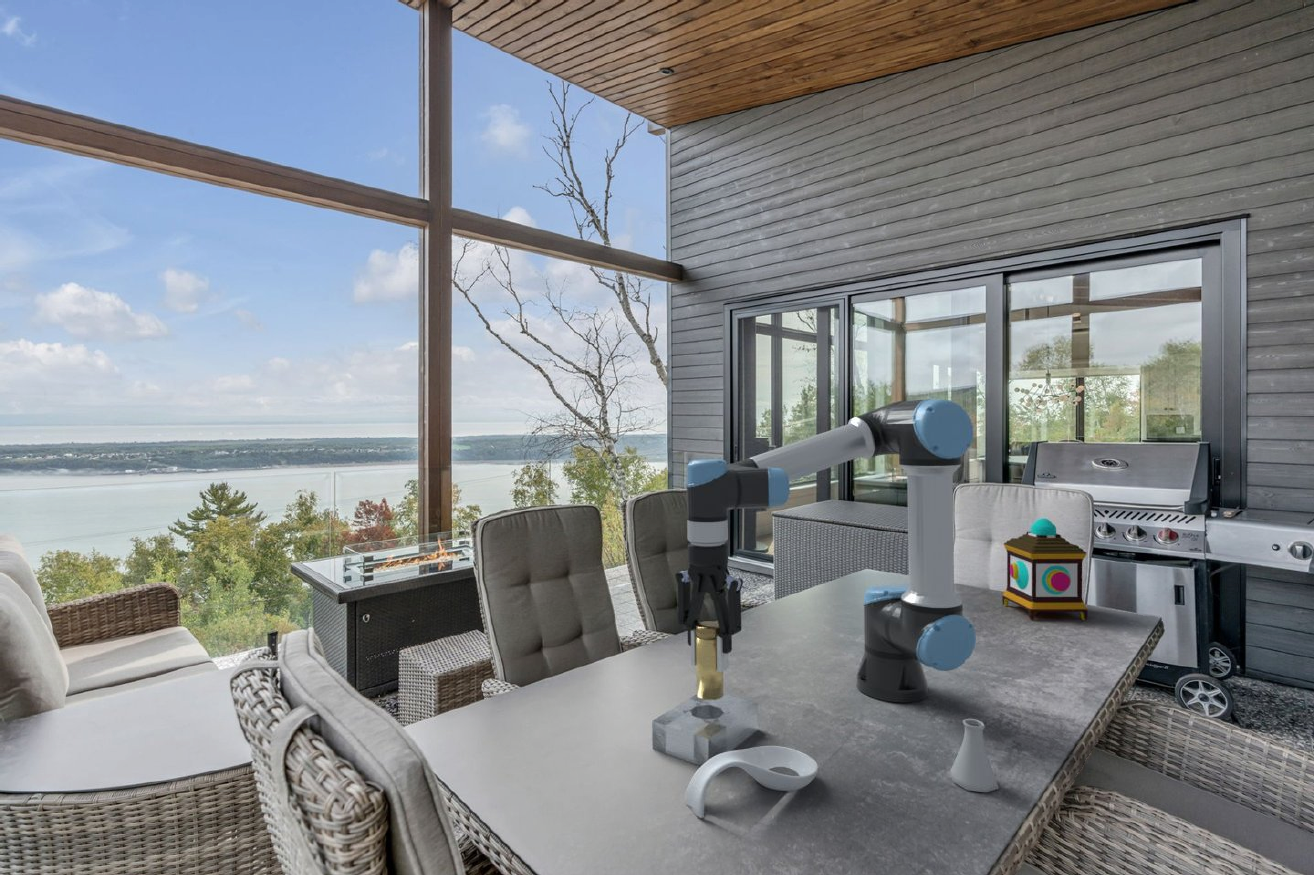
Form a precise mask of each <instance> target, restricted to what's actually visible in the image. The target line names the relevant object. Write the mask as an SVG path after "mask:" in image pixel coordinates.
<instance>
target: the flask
mask: <svg viewBox="0 0 1314 875" xmlns="http://www.w3.org/2000/svg"><path fill="white" fill-rule="evenodd" d="M962 723H963V725H964V735H963V738H962V739H963V740H962V743H961V745H960V748H959V750H958V753H957V756H956V758H955V760H954V762H953V765H952V767H951V769H950V770H949V775H950V779H951V780H952V782H953V783H955V784H956V785H957V786H960V787H961V788H962V789H964V790H965V791H970V792H978V793H979V792H980V793H989V792H992V791H996V790H999V789H1000V788H999V785H998V782H997V779H996V777H995V773H994V771H993V768H992V765H991V763H990V760H989V756H988V754H987V751H986V746H985V742H984V741H985V740H984V732H983V731H984V730H985V728H986V726H985V724H984V722H983V721H981V720H978V719H977V718H976V719H974V718H965V719H962Z"/></svg>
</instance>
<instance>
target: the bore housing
mask: <svg viewBox="0 0 1314 875" xmlns="http://www.w3.org/2000/svg"><path fill="white" fill-rule="evenodd" d="M757 731H759V703H758V702H754V701H750V700H746V699H744V698H741V697H735V696H732V695H730V694H725V693H724V696H723V697H722V698H720V699H716V700H705V699H701V698H699V697H698V696H697V693H696V694H695V695H693V696H691V697H690V698H688V699H686V700H685V701H683V702H682V703H680V704H678V705H677V706H675V707H673V708H671V709H670V710H668V711H666V712H665V713H663V714H662V715H660V716H658V717H657V718H655V719H653V720H652V729H651V732H652V735H651V736H652V740H651V742H652V749H653V750H656V751H658V752H661V753H664V754H667V755H669V756H673V757H675V758H678V759H680V760H683V761H686V762H688V763H691V764H694V765H697V766H699V767H701V766H702V765H703V764H704V763H705V762H707V761H708V760H709V759H711V758H712V757H714V756H716V755H718V754H721V753H724V752H728V751H734V750H735V748H737V747H739V745H741V744H742V743H743V742H745V741H746V740H747V739H748V738H750V737H751V736H752V735H753V734H754V733H756V732H757Z"/></svg>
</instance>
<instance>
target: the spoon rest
mask: <svg viewBox="0 0 1314 875" xmlns="http://www.w3.org/2000/svg"><path fill="white" fill-rule="evenodd" d="M731 767H732V768H733V767H738V768H740V769H742V770H743V771H744V772H745V773H748V775H750V776H751V777H752V778H753V779H754V780H755V781H756V782H757V783H759V784H760V785H761V786H763V787H765V788H768V789H770V790H775V791H782V792H783V791H785V792H786V794H787V793H792V792H794V791H797V790H801V789H803V788H805V787H806V786H808V785H809V784H810V783H811V782H812V781H813V780H814V779H815V777H816V775H817V774H818V771H819V765H818V763H817V762H816V760H814V758H813V757H812V756H810V755H808V754H806V753H804V752H802V751H800V750H797V749H794V748H790V747H785V746H780V745H763V746H762V745H761V746H755V747H749V748H744V749H743V748H742V749H737V750H736V749H734V750H732V751H728V752H724V753H721V754H718V755H716V756H714V757H712V758H711V759H709V760H708V761H707V762H705V763H704V764H703V765H702V766H699V768H698V769H697V771H696V772H695V773H694V775H693V776H692V778H691V779H690V781H689V783H688V786H687V789H686V791H685V795H684V796H685V797H684V799H685V801H686V802H687V803H685V805H686V807H688V809H689V810H690V811H692V813H694V814H695V815H696V816H697V817H698V818H699V819H703V818H705V805H706V804H705V802H706V795H707V790H708V788H709V786H710V784H711V782H712V781H713V780H714V778H716V777H717V775H719V774H720V773H722V772H723V771H725V770H727V769H729V768H731ZM773 768H787V769H790V770H792V771H794V772H795V773H797V774H798V775H790V774H784V773H780V772H776V771H773V770H770V769H773Z"/></svg>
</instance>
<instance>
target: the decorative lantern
mask: <svg viewBox="0 0 1314 875" xmlns="http://www.w3.org/2000/svg"><path fill="white" fill-rule="evenodd" d="M1003 546H1004V548H1005V551H1006V554H1007V555H1006V560H1007V562H1006V567H1007V568H1006V569H1007V570H1006V574H1007V575H1006V577H1007V578H1006V579H1007V580H1006V584H1007V585H1006V589H1005V590H1004V592H1003V595H1002V596H1001V598H1002V599H1001V600H1002V602H1001V603H1002V605H1003V606H1004V607H1008V606H1009V602H1010V603H1013V604H1015V605H1017V606H1019V607H1021V608H1023V609H1025V610H1026V611H1027V612H1028V617H1029V620H1030V621H1034V620H1035V618H1036V617H1035V616H1036V614H1037V613H1041V612H1043V613H1048V612H1050V613H1052V612H1056V613H1058V612H1059V613H1060V612H1061V613H1062V612H1065V613H1067V612H1068V613H1069V612H1071V613H1072V612H1076V613H1077V612H1078V613H1079V612H1080V615H1079V616H1080V618H1081V620H1082V621H1087V619H1088V615H1089V614H1088V613H1089V611H1088V608H1087V606H1086V603H1084V600H1083V561H1084V559H1085V557H1086V555H1087V551H1084V549H1083V548H1082V547H1079V545H1078V544H1073V543H1071V542H1069V541H1067V540H1066V539H1065V538H1064V537H1062V535H1061V534H1058V533H1057V527H1056V526H1055V524H1054V523H1053V522H1052V521H1051V520H1049V519H1047V518H1044V517H1043V518H1039V519H1036V520H1035V521H1034V522H1033V523H1032V524H1031V526H1030V531H1026V533H1024V534H1022V535H1021V536H1019V537H1016V538H1015V537H1014V538H1013V537H1012V538H1010V539H1009V540H1007V541H1006V542H1004V543H1003Z"/></svg>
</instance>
